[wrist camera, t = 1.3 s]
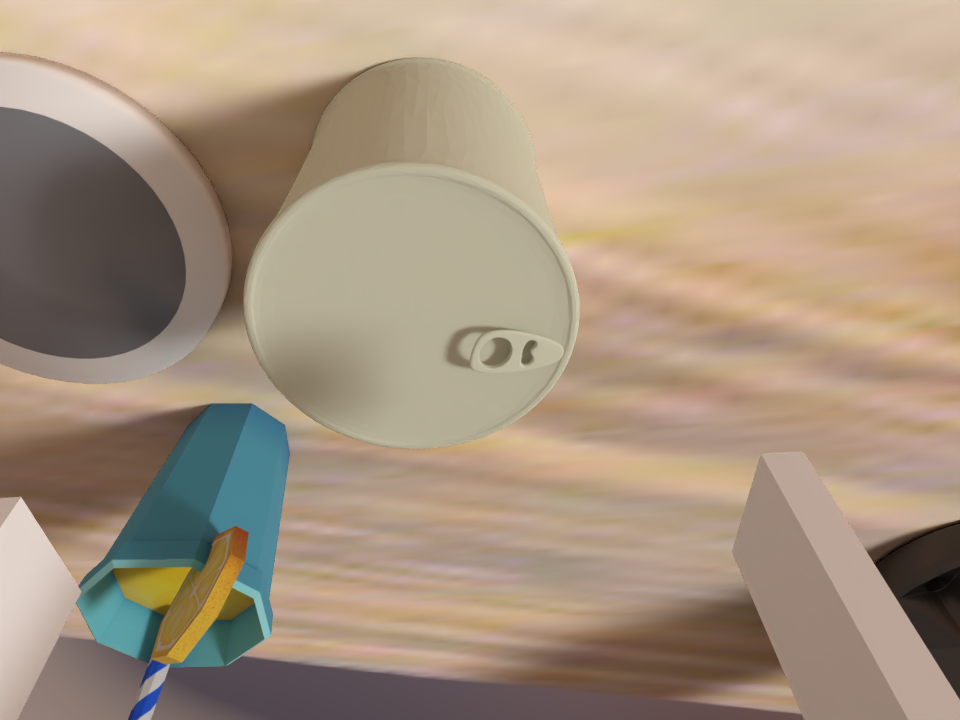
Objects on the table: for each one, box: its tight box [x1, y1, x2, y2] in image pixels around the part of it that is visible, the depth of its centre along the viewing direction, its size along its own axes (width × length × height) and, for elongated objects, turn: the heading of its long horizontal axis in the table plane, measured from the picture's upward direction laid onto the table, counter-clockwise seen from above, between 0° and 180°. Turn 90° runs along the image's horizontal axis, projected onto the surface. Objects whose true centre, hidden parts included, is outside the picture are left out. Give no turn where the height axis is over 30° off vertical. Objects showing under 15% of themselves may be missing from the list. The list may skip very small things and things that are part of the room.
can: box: [243, 58, 580, 449], centre depth 23 cm, size 9×9×12 cm
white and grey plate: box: [0, 52, 232, 384], centre depth 28 cm, size 14×14×2 cm
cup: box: [76, 404, 290, 720], centre depth 30 cm, size 14×8×15 cm, turn 156°
